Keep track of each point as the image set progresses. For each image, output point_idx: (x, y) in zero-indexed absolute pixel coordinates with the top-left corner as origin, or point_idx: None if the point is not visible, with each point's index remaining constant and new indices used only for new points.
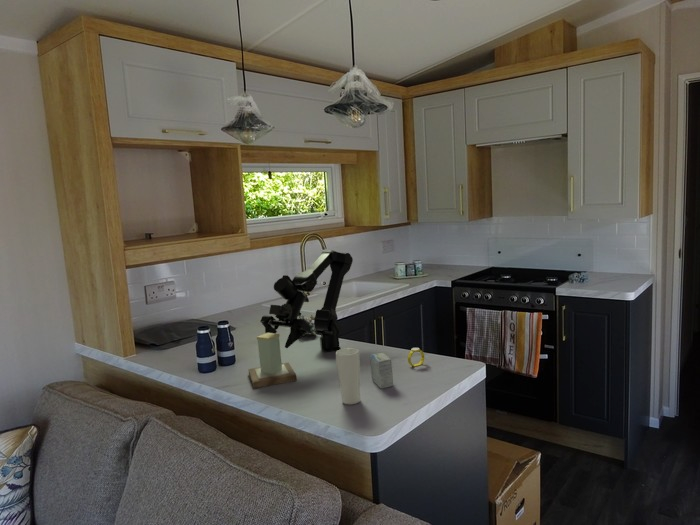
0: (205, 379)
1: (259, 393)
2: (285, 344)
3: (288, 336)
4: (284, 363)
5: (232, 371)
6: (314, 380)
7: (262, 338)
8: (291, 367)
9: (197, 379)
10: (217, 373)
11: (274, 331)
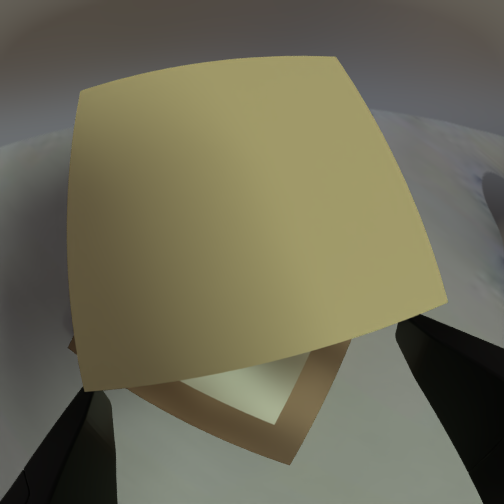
0: (430, 139)
1: None
2: (86, 399)
3: (50, 484)
4: (293, 440)
5: (452, 239)
6: (27, 388)
7: (213, 72)
8: (187, 421)
9: (443, 131)
10: (462, 194)
11: (496, 487)
